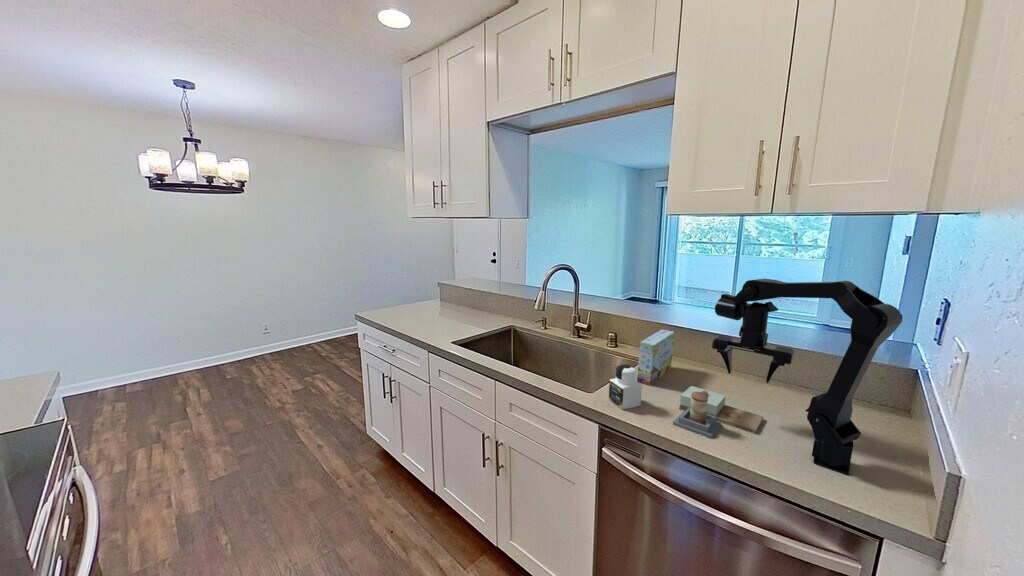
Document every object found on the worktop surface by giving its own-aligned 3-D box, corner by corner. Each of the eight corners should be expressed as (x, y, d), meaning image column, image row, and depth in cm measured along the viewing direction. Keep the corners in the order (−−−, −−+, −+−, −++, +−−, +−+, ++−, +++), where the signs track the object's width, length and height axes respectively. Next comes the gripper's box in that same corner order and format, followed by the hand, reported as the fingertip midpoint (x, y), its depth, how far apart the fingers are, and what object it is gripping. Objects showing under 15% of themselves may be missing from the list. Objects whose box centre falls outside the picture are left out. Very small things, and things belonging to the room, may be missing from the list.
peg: (707, 421, 107) (710, 394, 105) (702, 427, 104) (705, 400, 102) (692, 416, 109) (694, 390, 108) (687, 421, 106) (689, 395, 105)
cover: (724, 404, 116) (725, 393, 115) (715, 415, 109) (717, 403, 108) (690, 394, 122) (691, 383, 122) (680, 404, 116) (681, 392, 115)
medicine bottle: (608, 399, 122) (609, 364, 119) (626, 396, 124) (628, 361, 122) (621, 410, 115) (624, 372, 113) (641, 406, 117) (643, 369, 115)
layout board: (763, 419, 109) (763, 415, 109) (755, 433, 102) (755, 429, 102) (690, 397, 123) (691, 394, 123) (679, 408, 116) (679, 405, 116)
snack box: (651, 386, 131) (654, 344, 128) (636, 382, 135) (638, 341, 132) (672, 368, 147) (675, 331, 144) (657, 364, 151) (660, 328, 148)
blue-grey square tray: (721, 425, 107) (721, 417, 106) (711, 438, 100) (712, 430, 100) (684, 412, 113) (684, 405, 113) (672, 424, 107) (673, 417, 106)
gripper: (800, 324, 104) (792, 378, 106) (724, 313, 116) (719, 361, 119) (794, 333, 96) (786, 391, 98) (714, 320, 108) (709, 372, 111)
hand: (748, 377), depth 107 cm, fingers open, 9 cm apart
